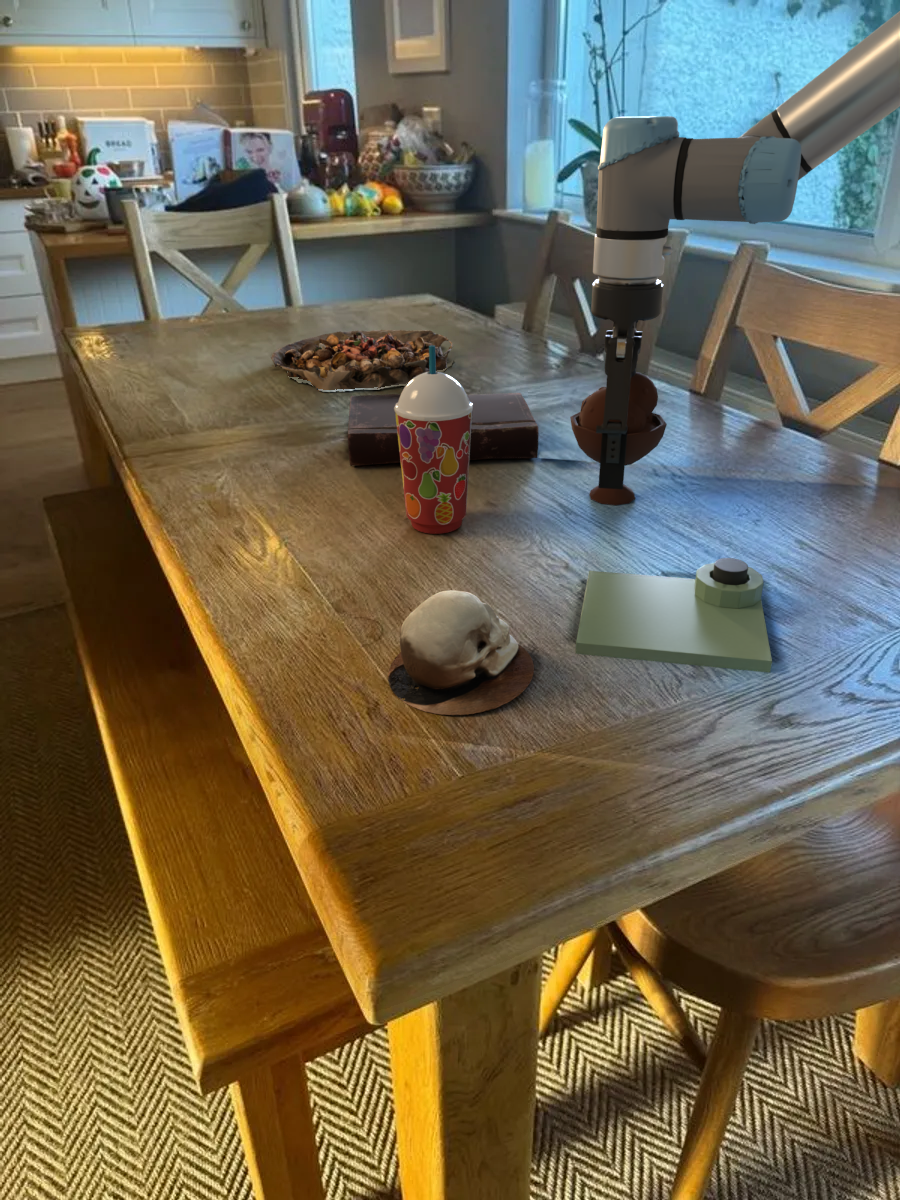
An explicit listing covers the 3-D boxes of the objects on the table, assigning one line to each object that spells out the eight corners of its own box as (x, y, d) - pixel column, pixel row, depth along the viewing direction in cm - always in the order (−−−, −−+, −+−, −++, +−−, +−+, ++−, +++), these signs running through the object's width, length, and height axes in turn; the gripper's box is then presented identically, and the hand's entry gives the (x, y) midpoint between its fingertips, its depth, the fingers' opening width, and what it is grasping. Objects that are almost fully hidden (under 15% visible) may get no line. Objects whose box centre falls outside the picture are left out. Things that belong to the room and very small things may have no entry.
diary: (538, 462, 120) (539, 425, 118) (350, 470, 119) (347, 433, 116) (518, 420, 136) (519, 387, 134) (352, 427, 135) (350, 393, 133)
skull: (477, 609, 82) (524, 561, 74) (521, 714, 80) (574, 677, 71) (358, 640, 77) (393, 593, 68) (400, 754, 74) (442, 720, 66)
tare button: (744, 573, 85) (747, 558, 84) (747, 588, 82) (749, 573, 81) (711, 571, 85) (713, 556, 84) (713, 585, 83) (715, 570, 82)
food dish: (390, 409, 146) (386, 361, 142) (235, 388, 161) (228, 344, 157) (490, 355, 172) (489, 313, 168) (349, 341, 187) (345, 303, 183)
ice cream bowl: (610, 473, 116) (618, 356, 109) (677, 499, 108) (691, 374, 101) (548, 493, 110) (553, 370, 103) (614, 521, 102) (624, 390, 95)
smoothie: (474, 510, 106) (473, 336, 96) (472, 539, 99) (471, 355, 89) (403, 510, 106) (395, 337, 97) (396, 539, 99) (387, 355, 89)
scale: (756, 592, 87) (760, 564, 85) (770, 673, 74) (775, 642, 73) (588, 579, 90) (590, 551, 88) (575, 654, 77) (577, 624, 76)
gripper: (662, 300, 86) (643, 509, 96) (664, 262, 107) (648, 437, 117) (583, 298, 87) (572, 504, 98) (600, 261, 108) (590, 434, 119)
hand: (613, 468), depth 107 cm, fingers open, 12 cm apart
